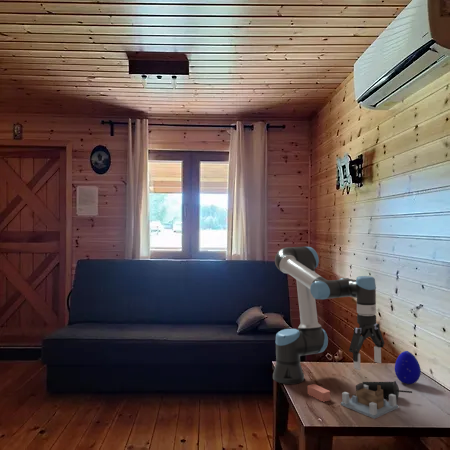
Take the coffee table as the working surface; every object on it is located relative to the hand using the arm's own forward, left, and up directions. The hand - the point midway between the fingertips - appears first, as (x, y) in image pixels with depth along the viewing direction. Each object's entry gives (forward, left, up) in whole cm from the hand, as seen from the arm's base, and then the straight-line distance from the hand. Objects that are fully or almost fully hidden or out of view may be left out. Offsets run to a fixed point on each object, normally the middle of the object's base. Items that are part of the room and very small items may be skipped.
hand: (367, 365), depth 168 cm
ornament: (-4, +36, -17) cm, 40 cm away
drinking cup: (-10, +10, -14) cm, 20 cm away
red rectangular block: (-19, -9, -17) cm, 27 cm away
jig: (0, 0, -17) cm, 17 cm away
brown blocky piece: (0, 0, -16) cm, 16 cm away
